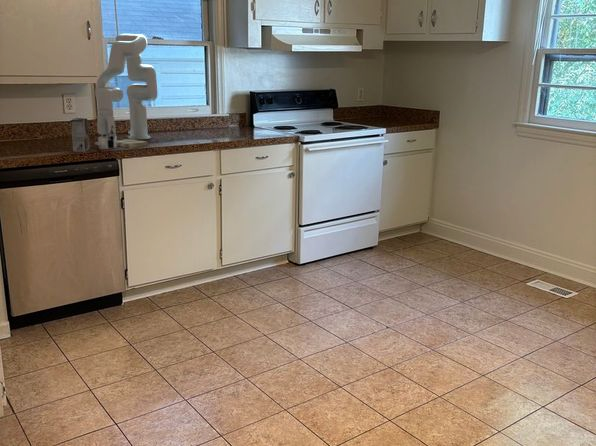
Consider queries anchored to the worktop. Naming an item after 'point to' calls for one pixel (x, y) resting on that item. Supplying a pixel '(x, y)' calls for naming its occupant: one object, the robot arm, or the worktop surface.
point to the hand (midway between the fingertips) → (108, 146)
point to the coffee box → (80, 135)
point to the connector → (105, 142)
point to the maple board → (131, 143)
